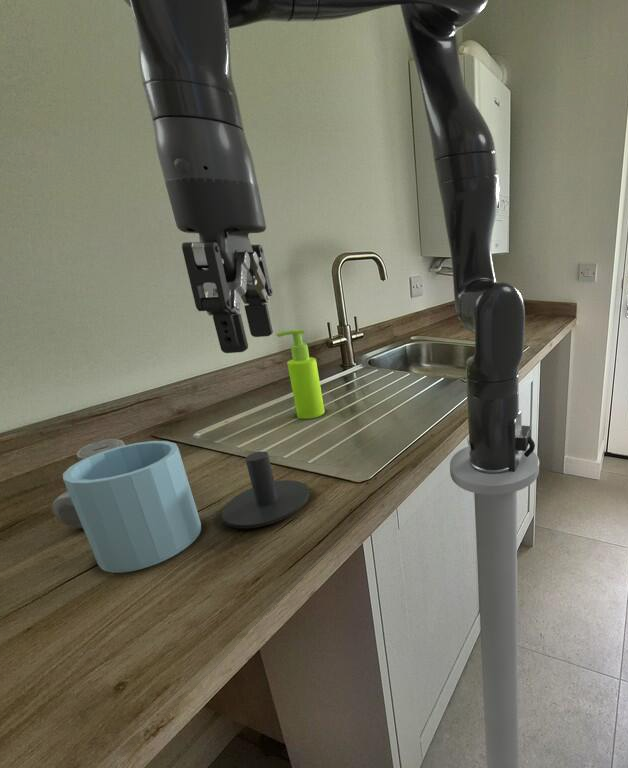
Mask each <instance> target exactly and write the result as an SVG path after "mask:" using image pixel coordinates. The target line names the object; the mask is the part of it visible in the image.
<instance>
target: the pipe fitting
mask: <svg viewBox="0 0 628 768" xmlns="http://www.w3.org/2000/svg"><path fill="white" fill-rule="evenodd" d="M125 445H126V444H125V442H124V441H123V440H121V439H118V438H109V439H101V440H97V441H94V442H91V443H89V444H87V445H84V446H83V447H81V448H80V449H79V450H78V451H77V452H76V457H77V460H78V462H79V461H81V460H83V459H85V458H88V457H90V456H93V455H95V454H98V453H100V452H103V451H107V450H110V449H113V448H117V447H120V446H125ZM51 511H52V514H53V515H54V517H55V518H56V519H57V521H59V522H60V523H62V524H63V525H65V526H68V527H71V528H76V529H82V530H84V529H83V526H82V524H81V522H80V519H79V517H78V514H77V512H76V509H75V507H74V505H73V502H72V500H71V497H70V495H69V492H68V490H67V487H66V486H65V491H64V492H62V493H61V494H60V495H59V496H58V497H56V498H55V500H54V501H53V503H52V505H51Z"/></svg>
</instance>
